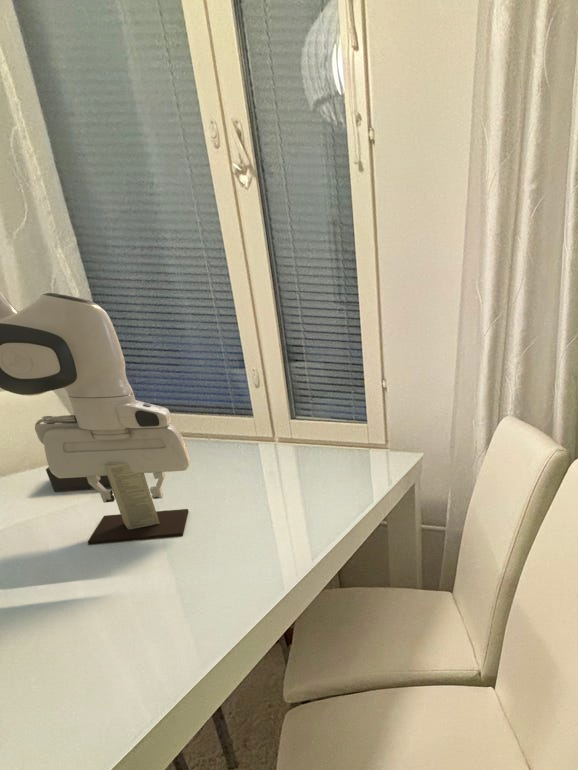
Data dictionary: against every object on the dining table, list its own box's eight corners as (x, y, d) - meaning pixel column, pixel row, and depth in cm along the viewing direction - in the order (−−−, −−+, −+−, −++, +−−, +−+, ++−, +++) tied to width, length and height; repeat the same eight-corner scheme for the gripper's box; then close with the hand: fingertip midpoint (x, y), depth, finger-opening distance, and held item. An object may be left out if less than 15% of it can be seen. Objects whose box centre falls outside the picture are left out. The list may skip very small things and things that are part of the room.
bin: (54, 491, 114) (45, 469, 111) (68, 476, 124) (61, 455, 121) (117, 487, 117) (110, 465, 115) (127, 473, 127) (120, 452, 125)
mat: (88, 544, 89) (87, 541, 89) (104, 518, 100) (103, 515, 100) (183, 535, 94) (182, 532, 93) (188, 511, 105) (188, 508, 104)
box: (154, 518, 99) (136, 455, 94) (160, 524, 97) (142, 460, 91) (121, 523, 97) (100, 459, 91) (127, 530, 94) (105, 464, 88)
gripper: (23, 419, 81) (58, 510, 89) (175, 415, 88) (196, 499, 95) (36, 413, 86) (68, 499, 94) (179, 409, 93) (198, 490, 100)
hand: (134, 499), depth 94 cm, fingers open, 6 cm apart
